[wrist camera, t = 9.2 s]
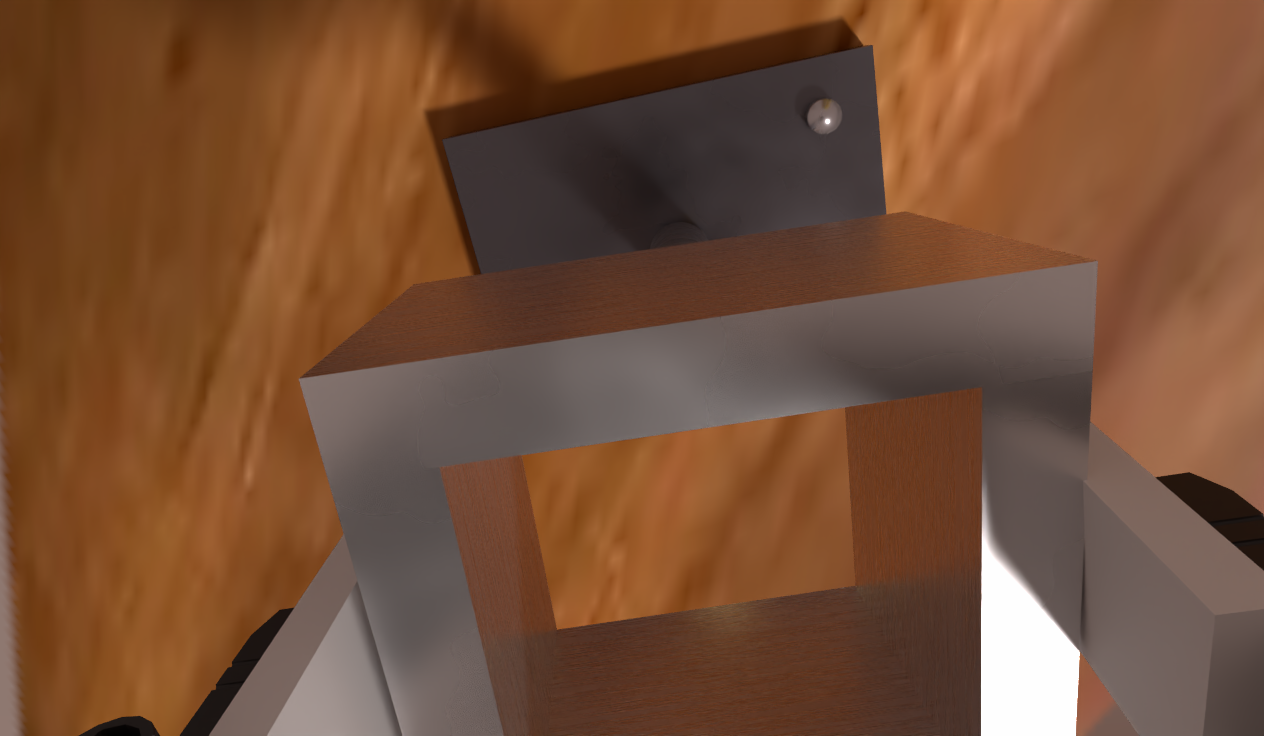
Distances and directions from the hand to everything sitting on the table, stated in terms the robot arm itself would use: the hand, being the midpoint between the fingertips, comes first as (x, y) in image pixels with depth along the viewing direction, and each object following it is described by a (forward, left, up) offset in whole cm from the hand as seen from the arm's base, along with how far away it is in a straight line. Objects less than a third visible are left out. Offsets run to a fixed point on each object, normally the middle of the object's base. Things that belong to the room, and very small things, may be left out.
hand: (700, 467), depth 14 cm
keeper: (0, 0, -18) cm, 18 cm away
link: (0, -1, -1) cm, 1 cm away
